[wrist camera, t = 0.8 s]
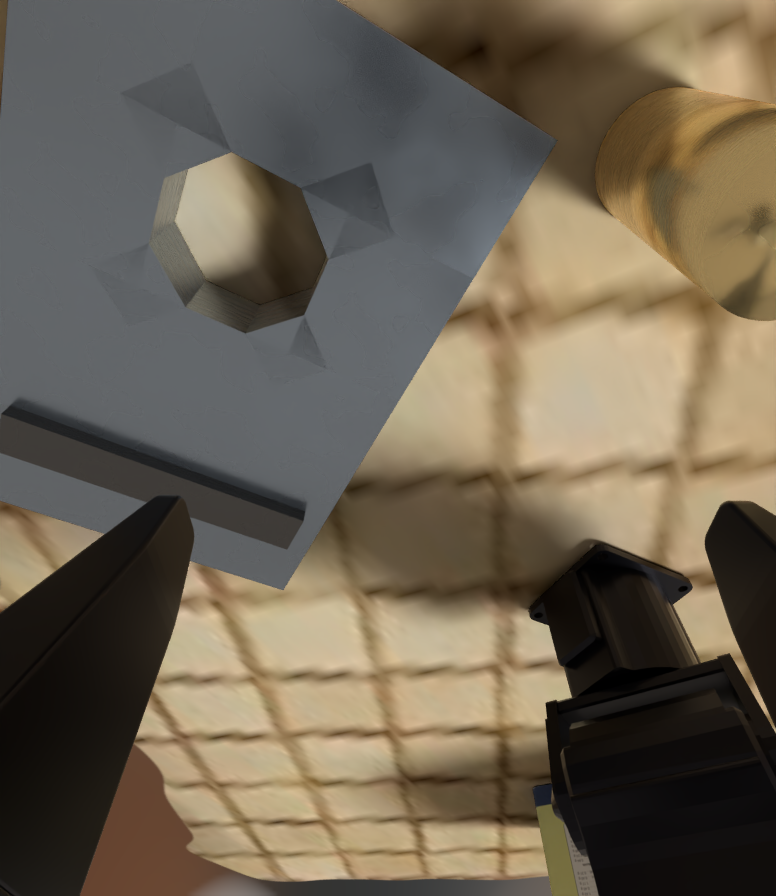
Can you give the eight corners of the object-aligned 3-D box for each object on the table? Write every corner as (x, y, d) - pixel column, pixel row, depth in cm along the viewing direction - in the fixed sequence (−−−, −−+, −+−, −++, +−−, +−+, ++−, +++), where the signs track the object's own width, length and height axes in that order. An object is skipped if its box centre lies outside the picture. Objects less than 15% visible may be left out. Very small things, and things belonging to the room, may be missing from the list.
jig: (539, 128, 17) (563, 143, 15) (290, 552, 29) (281, 600, 27) (76, -166, 14) (5, -209, 11) (7, 456, 26) (-35, 502, 23)
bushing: (752, 129, 17) (960, 185, 11) (660, 244, 20) (790, 348, 13) (655, 59, 16) (822, 76, 10) (569, 189, 18) (662, 272, 12)
